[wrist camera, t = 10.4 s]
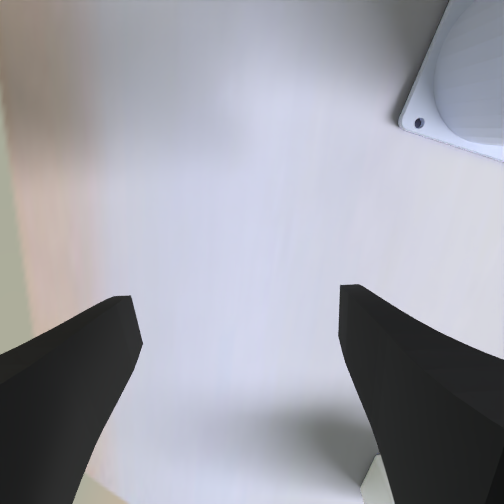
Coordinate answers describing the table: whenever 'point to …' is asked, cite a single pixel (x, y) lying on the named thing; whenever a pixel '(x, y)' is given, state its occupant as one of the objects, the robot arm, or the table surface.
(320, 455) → the table surface
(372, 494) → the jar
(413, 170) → the table surface
